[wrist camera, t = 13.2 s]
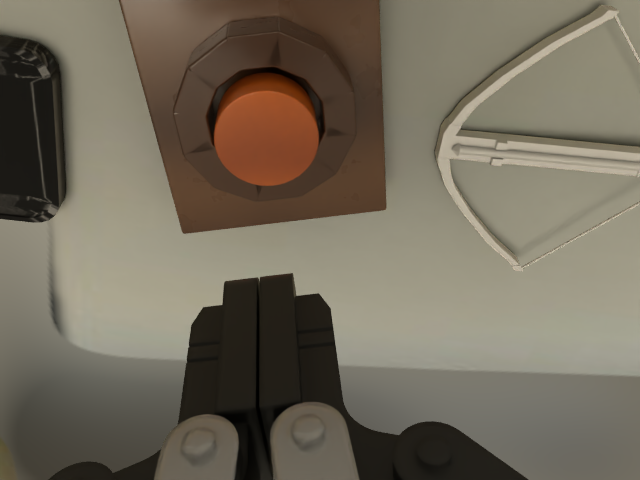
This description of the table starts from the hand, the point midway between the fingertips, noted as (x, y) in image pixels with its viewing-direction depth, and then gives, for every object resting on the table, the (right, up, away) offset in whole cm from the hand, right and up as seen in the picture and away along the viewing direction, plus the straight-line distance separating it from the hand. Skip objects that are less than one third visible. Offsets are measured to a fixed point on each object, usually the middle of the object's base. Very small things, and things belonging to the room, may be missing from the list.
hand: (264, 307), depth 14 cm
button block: (-1, +8, +12) cm, 14 cm away
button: (-1, +6, +9) cm, 11 cm away
